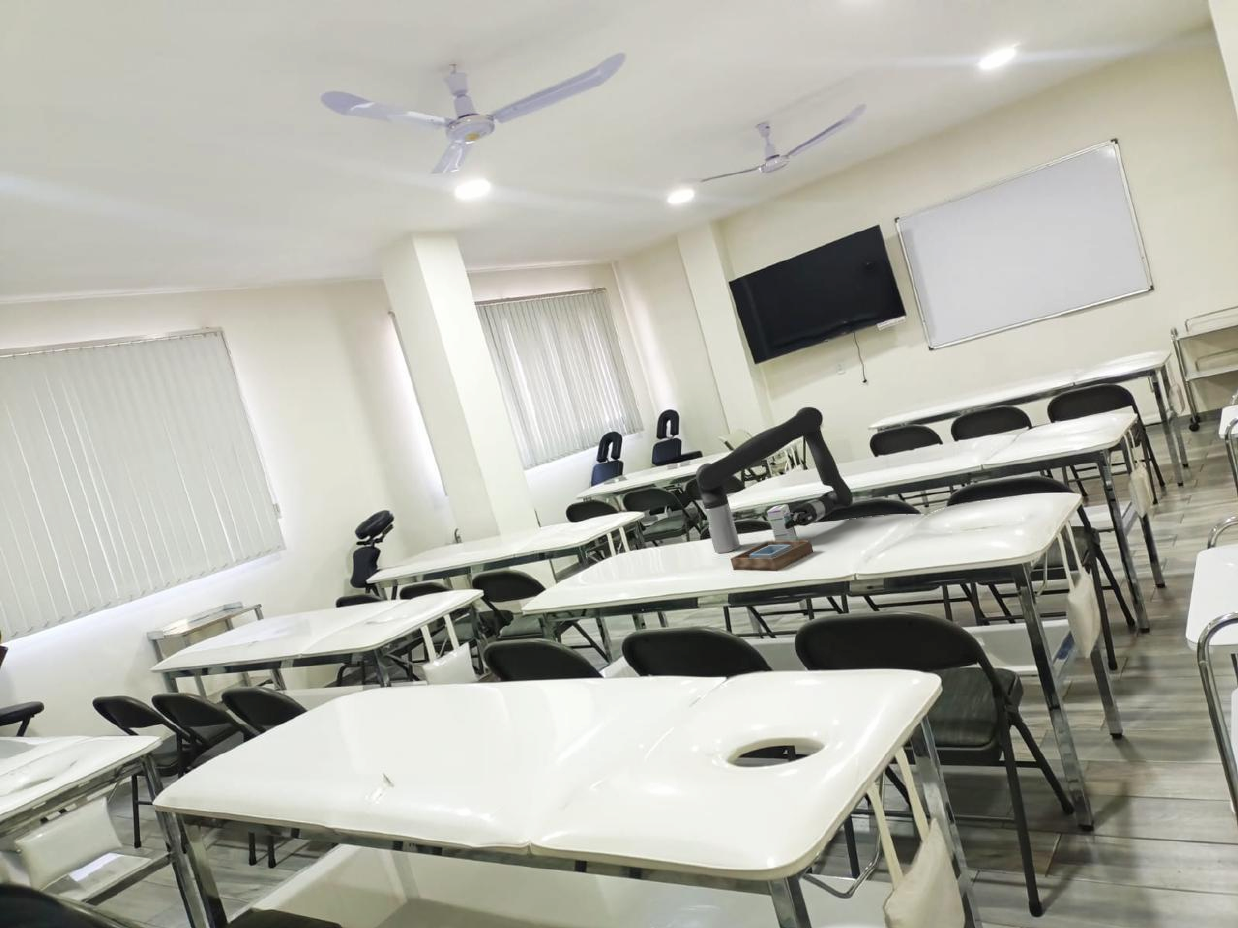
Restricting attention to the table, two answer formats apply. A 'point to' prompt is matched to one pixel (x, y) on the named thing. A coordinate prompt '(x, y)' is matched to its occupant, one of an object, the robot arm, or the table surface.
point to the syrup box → (781, 523)
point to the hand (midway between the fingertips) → (778, 526)
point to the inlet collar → (771, 551)
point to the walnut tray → (772, 564)
